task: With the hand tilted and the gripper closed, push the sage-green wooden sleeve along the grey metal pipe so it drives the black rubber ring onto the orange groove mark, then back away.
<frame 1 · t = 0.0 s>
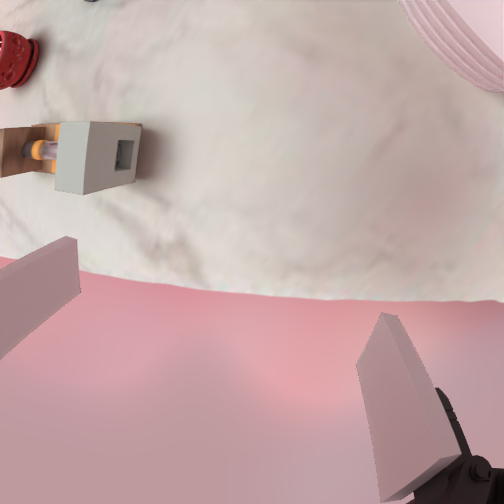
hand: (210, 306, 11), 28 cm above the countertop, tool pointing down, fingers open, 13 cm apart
sleeve: (99, 154, 30), point 8 cm above the countertop, slide at 0.0 cm
plant pot: (26, 65, 33), on the countertop
plate stack: (466, 19, 21), on the countertop
pipe rig: (75, 148, 38), on the countertop
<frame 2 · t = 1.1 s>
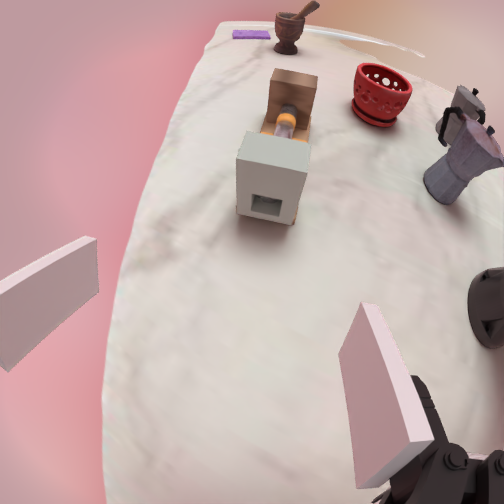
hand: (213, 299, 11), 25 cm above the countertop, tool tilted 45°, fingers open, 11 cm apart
moka pot: (437, 187, 48), on the countertop
sleeve: (271, 180, 36), point 8 cm above the countertop, slide at 0.0 cm
sponges: (251, 37, 75), on the countertop
plant pot: (370, 115, 56), on the countertop
coffeepot: (448, 138, 57), on the countertop
pipe rig: (279, 158, 48), on the countertop
mortar and pestle: (291, 51, 69), on the countertop
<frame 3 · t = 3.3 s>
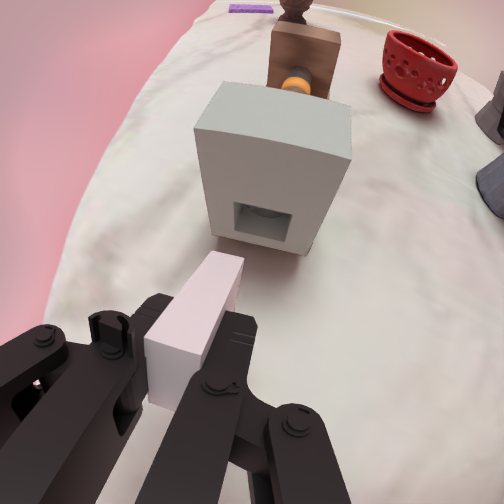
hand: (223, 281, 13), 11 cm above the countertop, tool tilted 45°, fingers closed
moka pot: (490, 194, 31), on the countertop
sleeve: (270, 177, 19), point 8 cm above the countertop, slide at 0.0 cm
sponges: (250, 12, 58), on the countertop
plant pot: (403, 97, 39), on the countertop
coffeepot: (490, 134, 39), on the countertop
pipe rig: (285, 144, 31), on the countertop
mortar and pestle: (298, 24, 52), on the countertop
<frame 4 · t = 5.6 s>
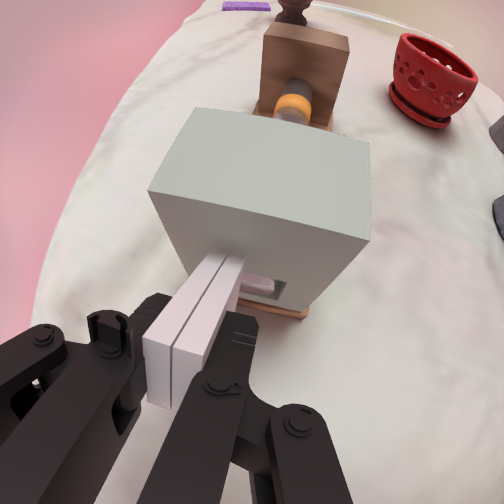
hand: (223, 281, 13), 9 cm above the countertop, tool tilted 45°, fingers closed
sleeve: (260, 230, 15), point 8 cm above the countertop, slide at 1.6 cm, touching gripper, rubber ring
sponges: (246, 9, 53), on the countertop
plant pot: (415, 109, 35), on the countertop
pipe rig: (279, 177, 27), on the countertop
mortar and pestle: (298, 23, 48), on the countertop
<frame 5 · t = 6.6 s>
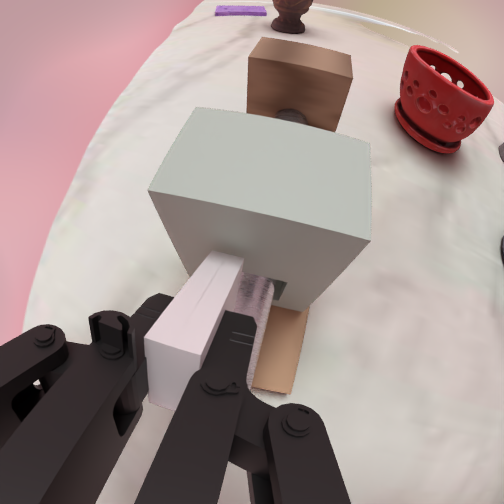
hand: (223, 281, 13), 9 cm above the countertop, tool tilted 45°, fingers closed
sleeve: (261, 230, 15), point 8 cm above the countertop, slide at 7.5 cm, touching gripper, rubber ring
sponges: (240, 14, 51), on the countertop
plant pot: (422, 130, 33), on the countertop
pipe rig: (267, 227, 24), on the countertop
mortar and pestle: (295, 30, 45), on the countertop
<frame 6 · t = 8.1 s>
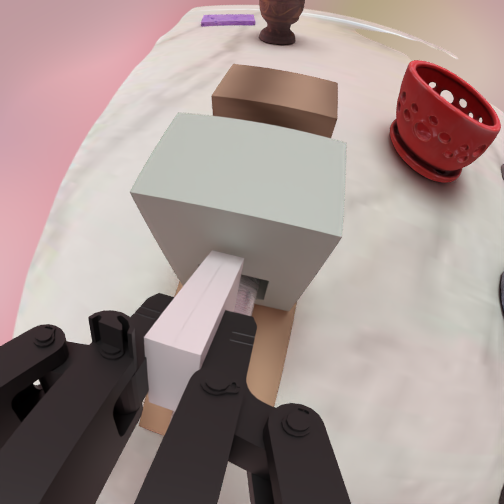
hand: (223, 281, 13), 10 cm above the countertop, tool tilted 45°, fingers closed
sleeve: (244, 230, 16), point 8 cm above the countertop, slide at 12.9 cm, touching gripper, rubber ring
sponges: (228, 23, 50), on the countertop
plant pot: (419, 155, 31), on the countertop
pipe rig: (240, 286, 22), on the countertop
mortar and pestle: (285, 40, 44), on the countertop
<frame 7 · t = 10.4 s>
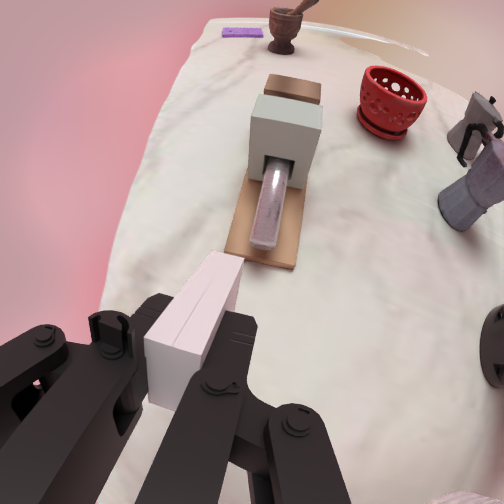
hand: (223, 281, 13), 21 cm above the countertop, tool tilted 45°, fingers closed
moka pot: (451, 210, 42), on the countertop
sleeve: (282, 143, 35), point 8 cm above the countertop, slide at 12.9 cm, touching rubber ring
sponges: (242, 35, 68), on the countertop
plant pot: (378, 125, 50), on the countertop
coffeepot: (461, 149, 51), on the countertop
pipe rig: (275, 184, 41), on the countertop
mortar and pestle: (287, 50, 62), on the countertop
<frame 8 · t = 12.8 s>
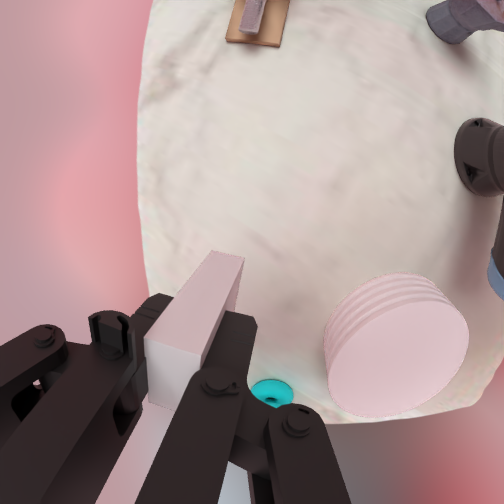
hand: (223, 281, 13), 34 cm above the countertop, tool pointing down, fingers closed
moka pot: (442, 25, 29), on the countertop
plate stack: (388, 333, 51), on the countertop
donuts: (272, 390, 60), on the countertop
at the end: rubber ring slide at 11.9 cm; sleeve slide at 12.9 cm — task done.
